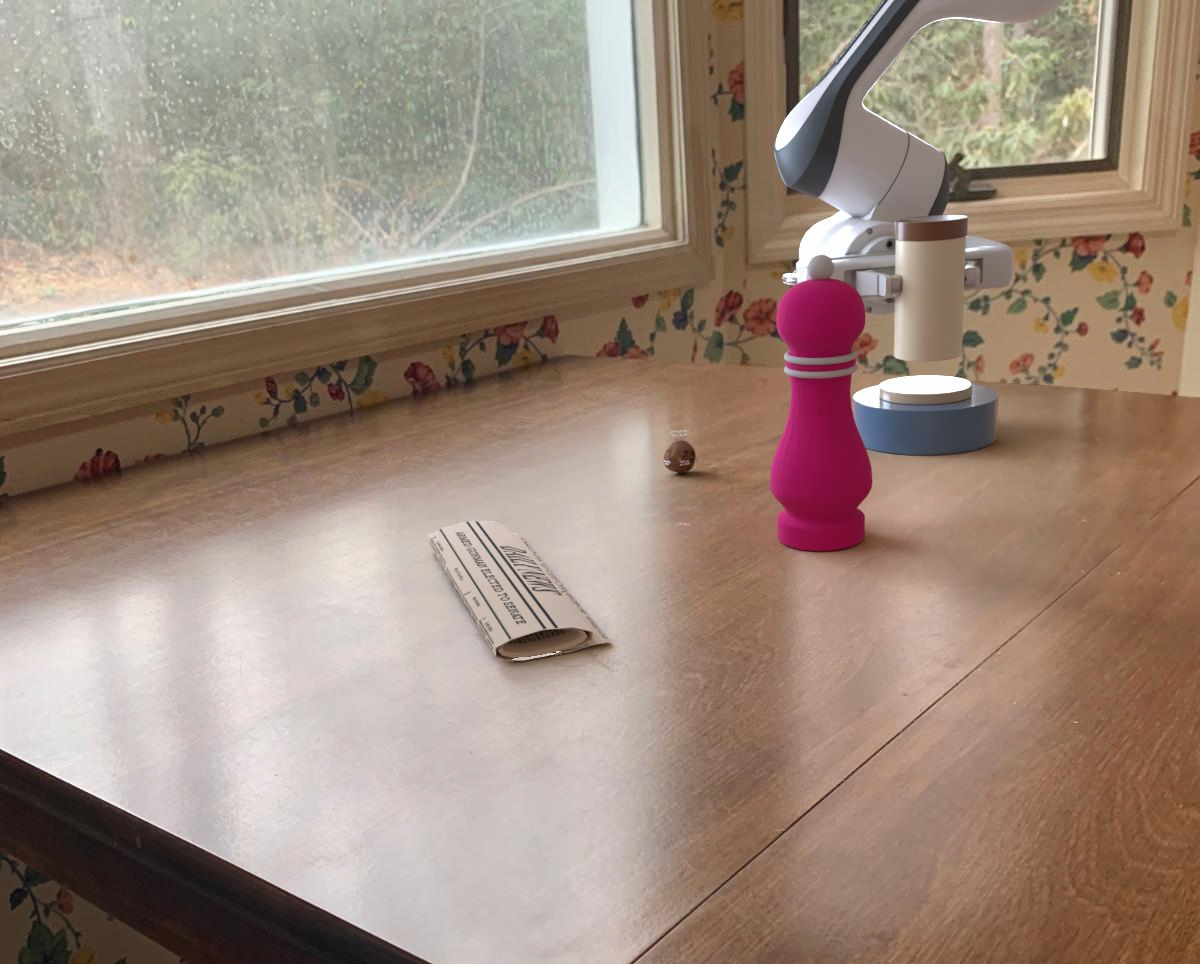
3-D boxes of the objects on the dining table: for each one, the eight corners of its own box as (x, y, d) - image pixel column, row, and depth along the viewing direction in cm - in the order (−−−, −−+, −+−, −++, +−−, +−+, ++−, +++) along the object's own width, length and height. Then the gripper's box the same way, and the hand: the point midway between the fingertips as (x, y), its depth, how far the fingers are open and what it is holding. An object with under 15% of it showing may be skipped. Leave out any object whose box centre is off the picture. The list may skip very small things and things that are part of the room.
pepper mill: (826, 561, 84) (826, 262, 76) (750, 540, 89) (743, 259, 82) (892, 535, 88) (898, 250, 80) (816, 516, 93) (815, 247, 86)
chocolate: (668, 479, 106) (666, 434, 104) (661, 472, 108) (659, 428, 106) (701, 474, 106) (699, 430, 105) (693, 468, 108) (692, 424, 107)
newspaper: (428, 549, 92) (426, 527, 91) (519, 535, 93) (517, 513, 93) (496, 666, 71) (493, 638, 70) (612, 645, 72) (610, 617, 72)
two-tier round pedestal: (960, 416, 120) (962, 366, 118) (1021, 446, 108) (1024, 391, 106) (834, 429, 119) (834, 378, 117) (881, 461, 107) (882, 405, 105)
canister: (946, 347, 114) (950, 213, 109) (974, 357, 108) (980, 217, 104) (882, 353, 113) (884, 219, 109) (908, 364, 107) (910, 223, 103)
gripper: (776, 244, 118) (820, 256, 105) (976, 226, 120) (1043, 235, 107) (777, 309, 120) (820, 329, 107) (973, 291, 122) (1039, 308, 110)
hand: (934, 282), depth 107 cm, fingers closed on canister, 6 cm apart
